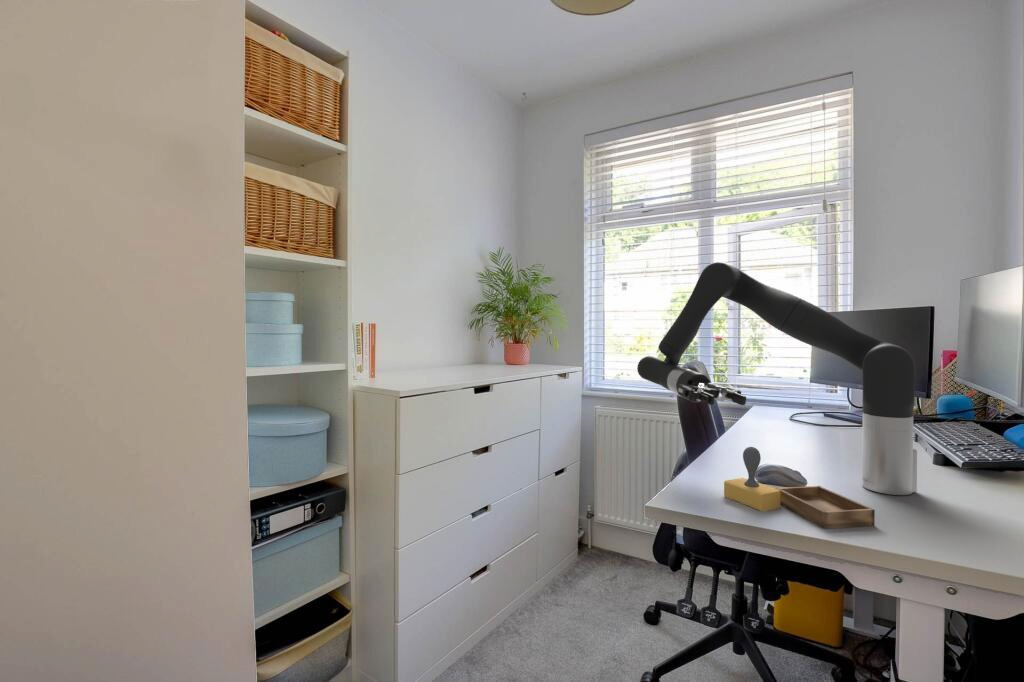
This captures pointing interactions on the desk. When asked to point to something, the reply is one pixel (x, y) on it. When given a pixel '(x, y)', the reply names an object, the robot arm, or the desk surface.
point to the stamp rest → (826, 507)
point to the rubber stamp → (752, 486)
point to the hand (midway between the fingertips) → (729, 400)
